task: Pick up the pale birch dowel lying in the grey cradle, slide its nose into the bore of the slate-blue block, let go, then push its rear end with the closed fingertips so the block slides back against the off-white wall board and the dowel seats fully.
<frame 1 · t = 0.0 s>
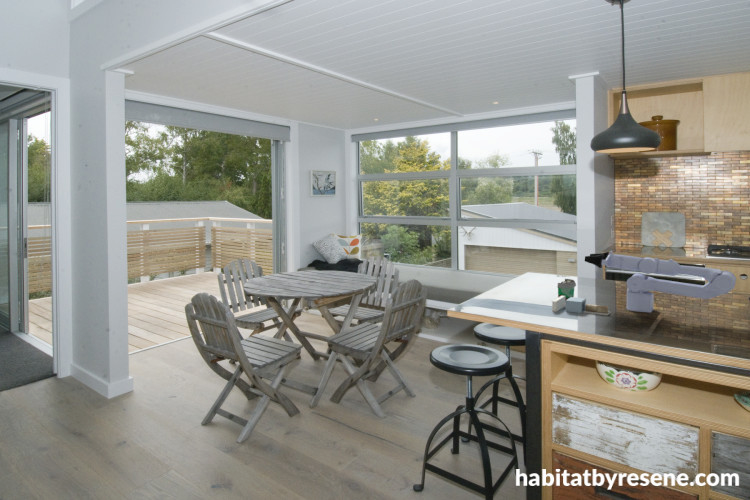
hand: (587, 257, 200), 22 cm above the counter, tool horizontal, fingers open, 7 cm apart
wall: (558, 311, 197), on the counter
block: (575, 306, 193), point 3 cm above the counter, slide at 0.0 cm
cradle: (596, 315, 188), on the counter
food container: (568, 303, 211), on the counter
dowel: (596, 312, 188), point 1 cm above the counter, touching cradle
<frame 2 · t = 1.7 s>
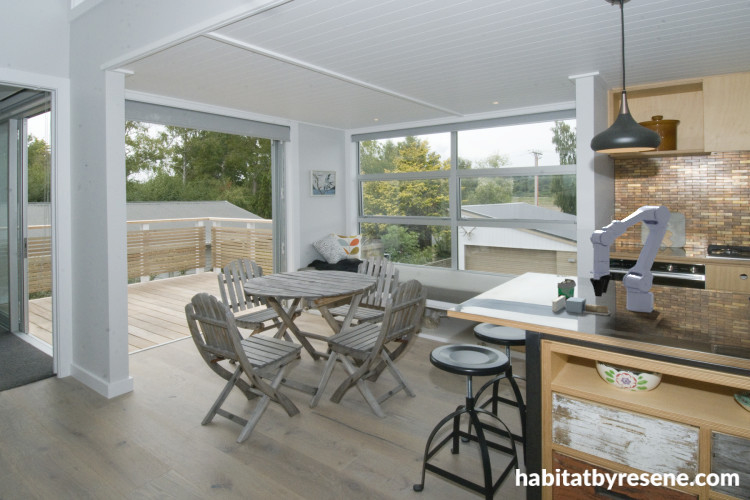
hand: (600, 294, 186), 9 cm above the counter, tool pointing down, fingers open, 7 cm apart
nothing on the counter moved.
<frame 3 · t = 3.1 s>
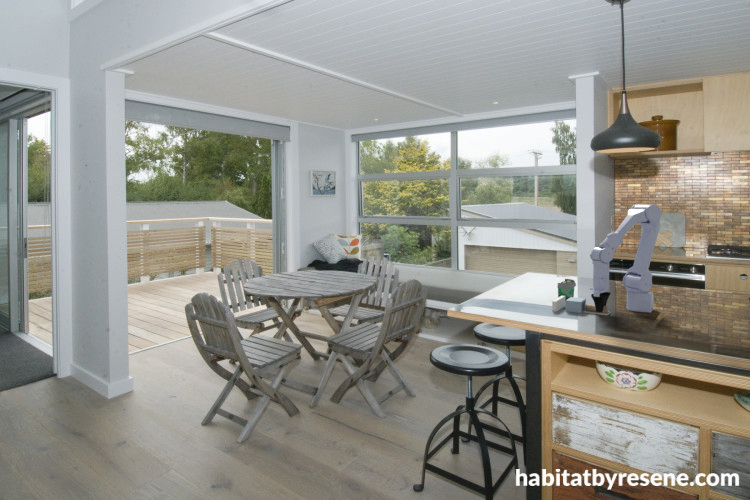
hand: (600, 311, 187), 2 cm above the counter, tool pointing down, fingers closed on dowel, 3 cm apart
dowel: (596, 312, 188), point 1 cm above the counter, touching cradle, gripper
everything else where it was.
when the fingers open (2 cm above the counter, at t = 5.1 s): dowel stays where it is, resting on block, cradle.
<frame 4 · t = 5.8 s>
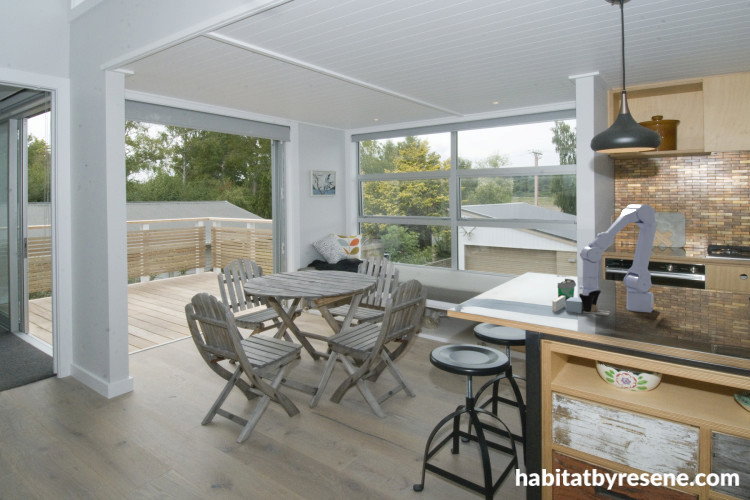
hand: (590, 309, 190), 2 cm above the counter, tool pointing down, fingers open, 7 cm apart
block: (575, 306, 193), point 3 cm above the counter, slide at 0.0 cm, touching dowel
dowel: (586, 311, 191), point 1 cm above the counter, tilted 10°, touching block, cradle
everything else where it was.
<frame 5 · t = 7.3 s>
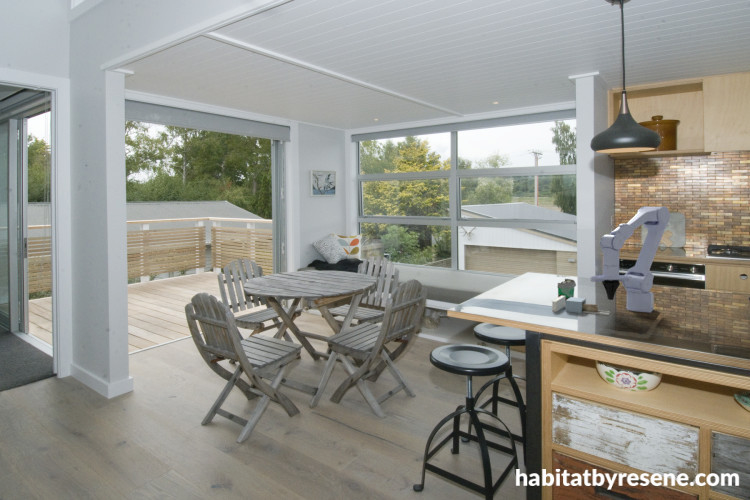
hand: (610, 299, 184), 7 cm above the counter, tool pointing down, fingers closed
dowel: (586, 311, 191), point 1 cm above the counter, tilted 19°, touching block, cradle
everything else where it was.
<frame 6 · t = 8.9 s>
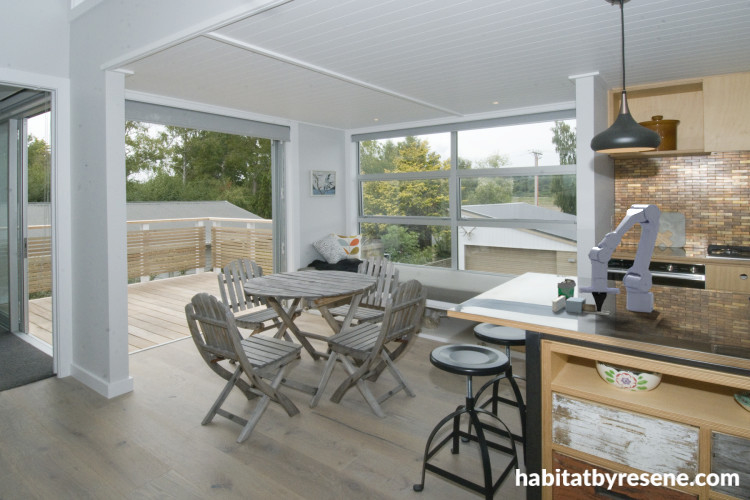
hand: (598, 310, 187), 2 cm above the counter, tool pointing down, fingers closed
block: (575, 306, 193), point 3 cm above the counter, slide at 0.1 cm
dowel: (584, 310, 191), point 1 cm above the counter, tilted 20°, touching gripper
everything else where it was.
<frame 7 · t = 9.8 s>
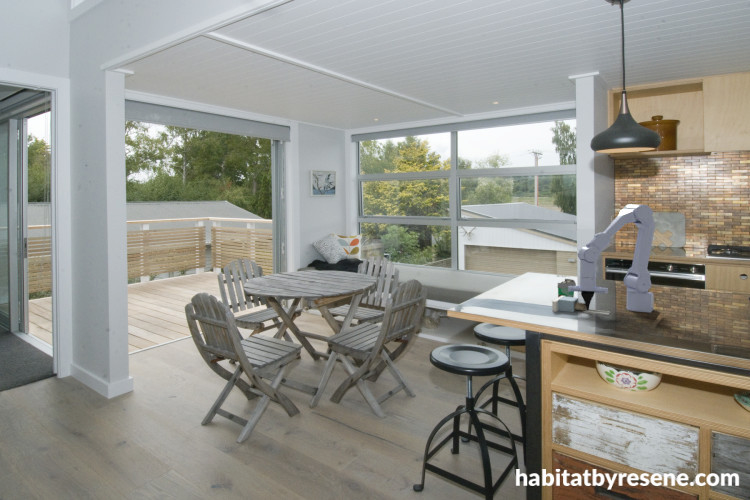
hand: (587, 309, 190), 2 cm above the counter, tool pointing down, fingers closed
block: (568, 305, 195), point 3 cm above the counter, slide at 3.0 cm, touching dowel, wall
dowel: (574, 309, 193), point 2 cm above the counter, tilted 23°, touching block, cradle, gripper
everything else where it was.
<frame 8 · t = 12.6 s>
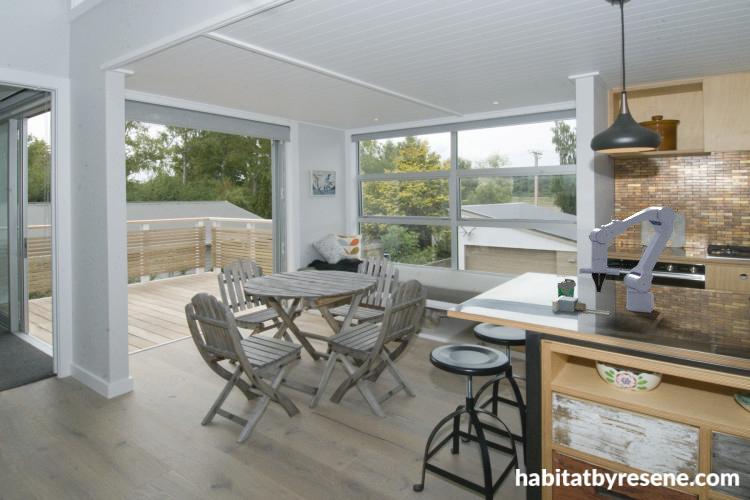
hand: (598, 291, 189), 9 cm above the counter, tool pointing down, fingers closed
block: (568, 305, 195), point 3 cm above the counter, slide at 3.0 cm, touching dowel
dowel: (574, 309, 193), point 2 cm above the counter, tilted 23°, touching block, cradle
everything else where it was.
at the end: block slide at 3.0 cm; dowel 0.4 cm from the target spot on the block, point 1.5 cm above the block's base; the gripper is holding nothing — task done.
